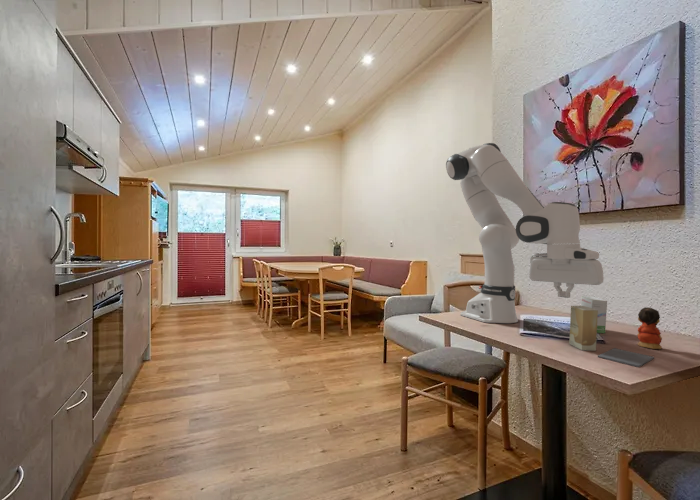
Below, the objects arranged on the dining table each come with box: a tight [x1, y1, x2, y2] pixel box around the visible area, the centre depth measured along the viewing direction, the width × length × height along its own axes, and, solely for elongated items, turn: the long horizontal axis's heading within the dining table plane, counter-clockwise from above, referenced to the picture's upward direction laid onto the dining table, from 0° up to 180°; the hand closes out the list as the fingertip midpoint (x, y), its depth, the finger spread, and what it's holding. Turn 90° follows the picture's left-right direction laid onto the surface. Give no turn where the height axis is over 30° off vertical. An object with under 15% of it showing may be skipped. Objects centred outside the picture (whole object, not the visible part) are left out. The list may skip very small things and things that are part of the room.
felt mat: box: [597, 347, 655, 368], centre depth 93 cm, size 9×12×1 cm
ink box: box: [580, 295, 608, 334], centre depth 121 cm, size 9×5×12 cm, turn 168°
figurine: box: [637, 306, 663, 350], centre depth 102 cm, size 6×6×12 cm
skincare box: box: [568, 305, 598, 352], centre depth 101 cm, size 6×4×12 cm
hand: (564, 297), depth 105 cm, fingers closed
